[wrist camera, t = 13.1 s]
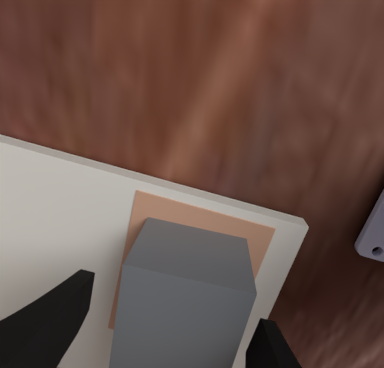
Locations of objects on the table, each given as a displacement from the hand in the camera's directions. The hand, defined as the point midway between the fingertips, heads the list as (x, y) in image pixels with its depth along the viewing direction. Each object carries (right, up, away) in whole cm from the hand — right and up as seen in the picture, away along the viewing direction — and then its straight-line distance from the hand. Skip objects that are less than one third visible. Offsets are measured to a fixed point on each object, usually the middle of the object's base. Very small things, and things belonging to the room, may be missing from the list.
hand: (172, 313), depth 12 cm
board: (-4, 0, +5) cm, 6 cm away
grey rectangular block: (0, 0, +3) cm, 3 cm away
